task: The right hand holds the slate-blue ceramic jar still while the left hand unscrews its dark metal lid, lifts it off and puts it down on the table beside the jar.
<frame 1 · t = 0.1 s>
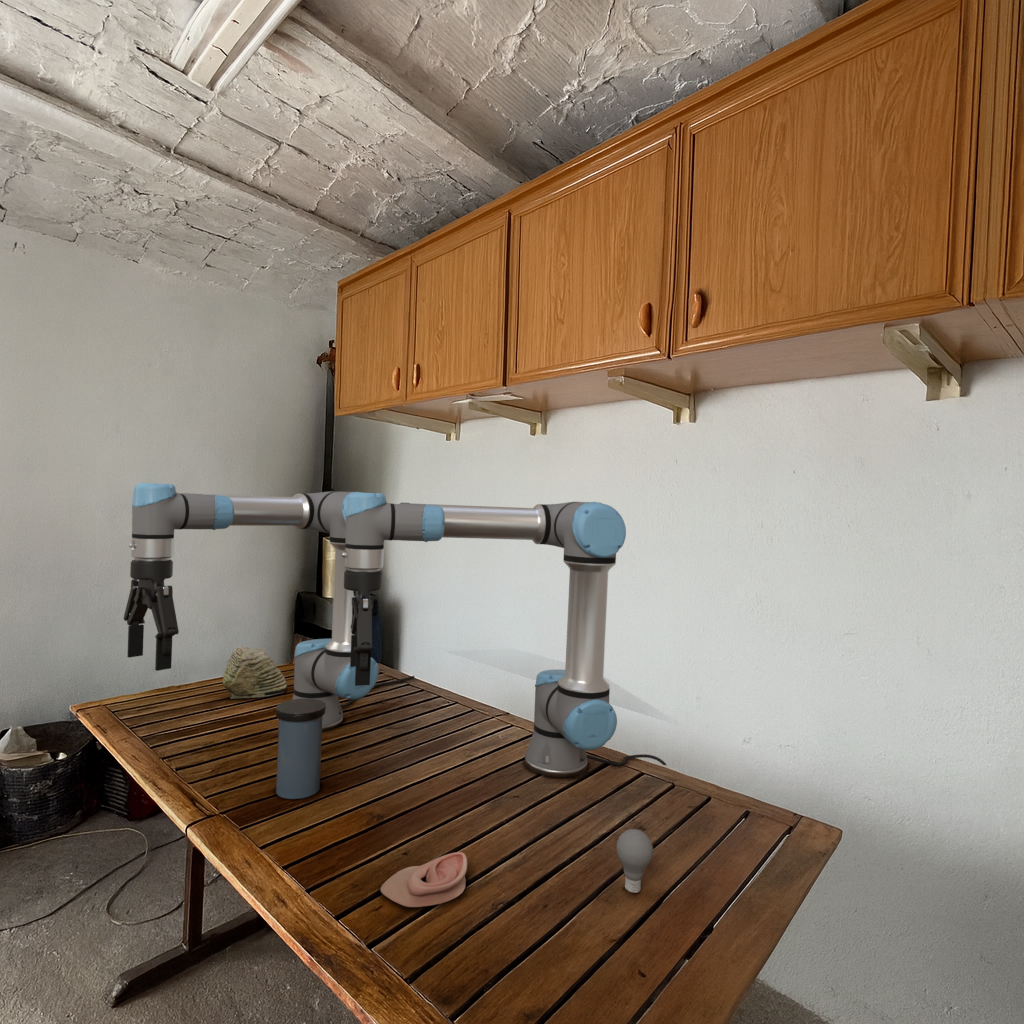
left hand: (148, 662, 129), 28 cm above the table, tool pointing down, fingers open, 13 cm apart
right hand: (359, 675, 127), 28 cm above the table, tool pointing down, fingers open, 13 cm apart
fossil: (254, 694, 198), on the table
jar: (298, 789, 137), on the table
anatomical model: (424, 887, 104), on the table
lid: (301, 707, 136), point 18 cm above the table, screwed on, not yet turned
light bulb: (632, 891, 106), on the table
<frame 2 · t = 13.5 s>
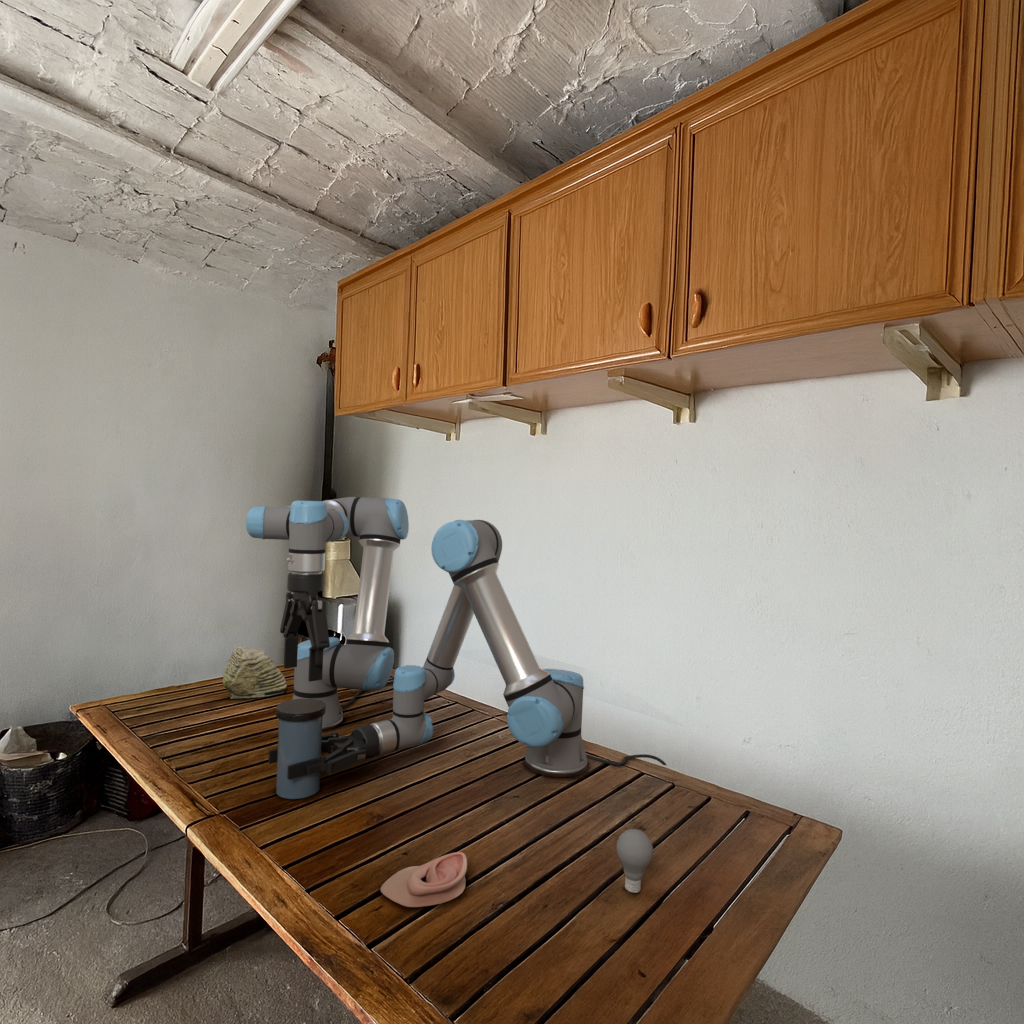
left hand: (302, 673, 136), 25 cm above the table, tool pointing down, fingers open, 11 cm apart
right hand: (278, 764, 134), 6 cm above the table, tool horizontal, fingers closed on jar, 9 cm apart
jar: (298, 789, 137), on the table, touching right hand
everything else where it was.
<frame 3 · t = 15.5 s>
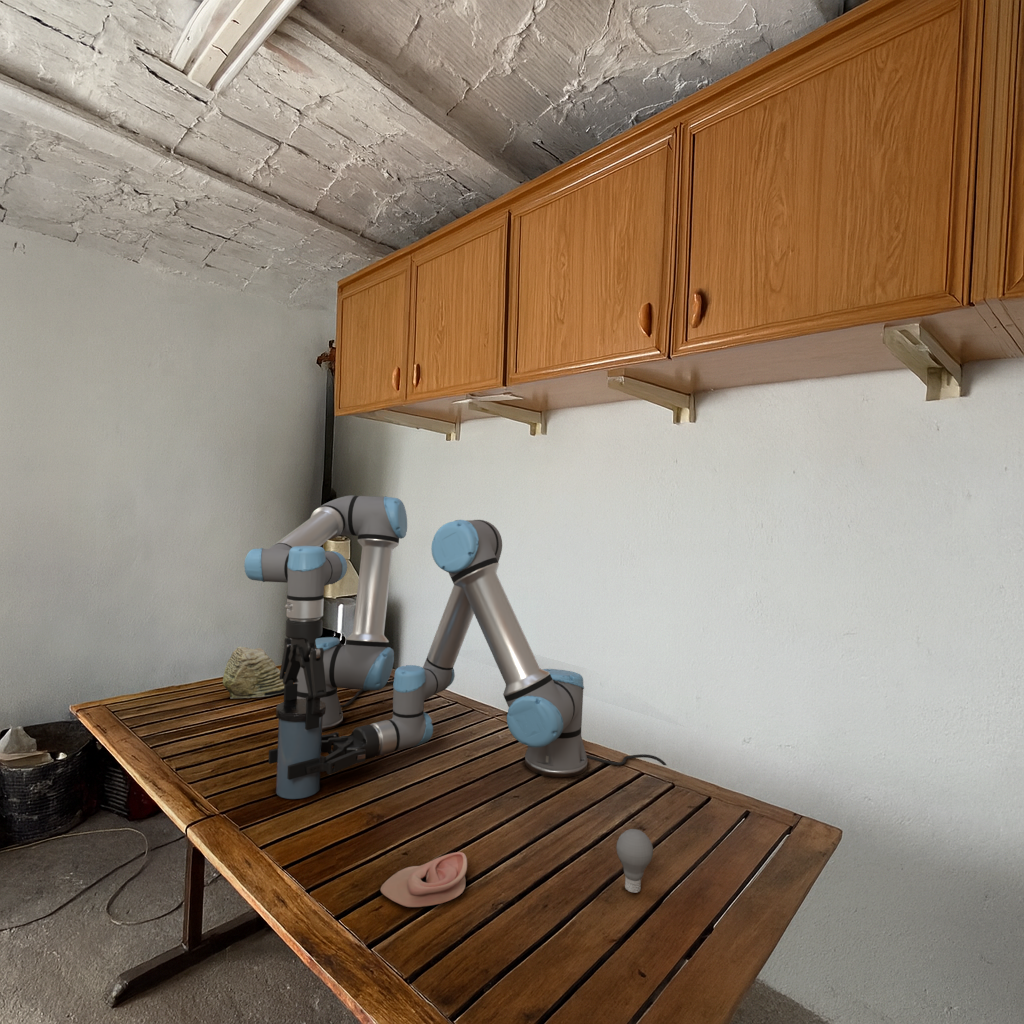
left hand: (300, 720, 136), 15 cm above the table, tool pointing down, fingers closed on lid, 10 cm apart
right hand: (278, 764, 134), 6 cm above the table, tool horizontal, fingers closed on jar, 9 cm apart
jar: (298, 789, 137), on the table, touching right hand
lid: (301, 707, 136), point 18 cm above the table, screwed on, not yet turned, touching left hand
everything else where it was.
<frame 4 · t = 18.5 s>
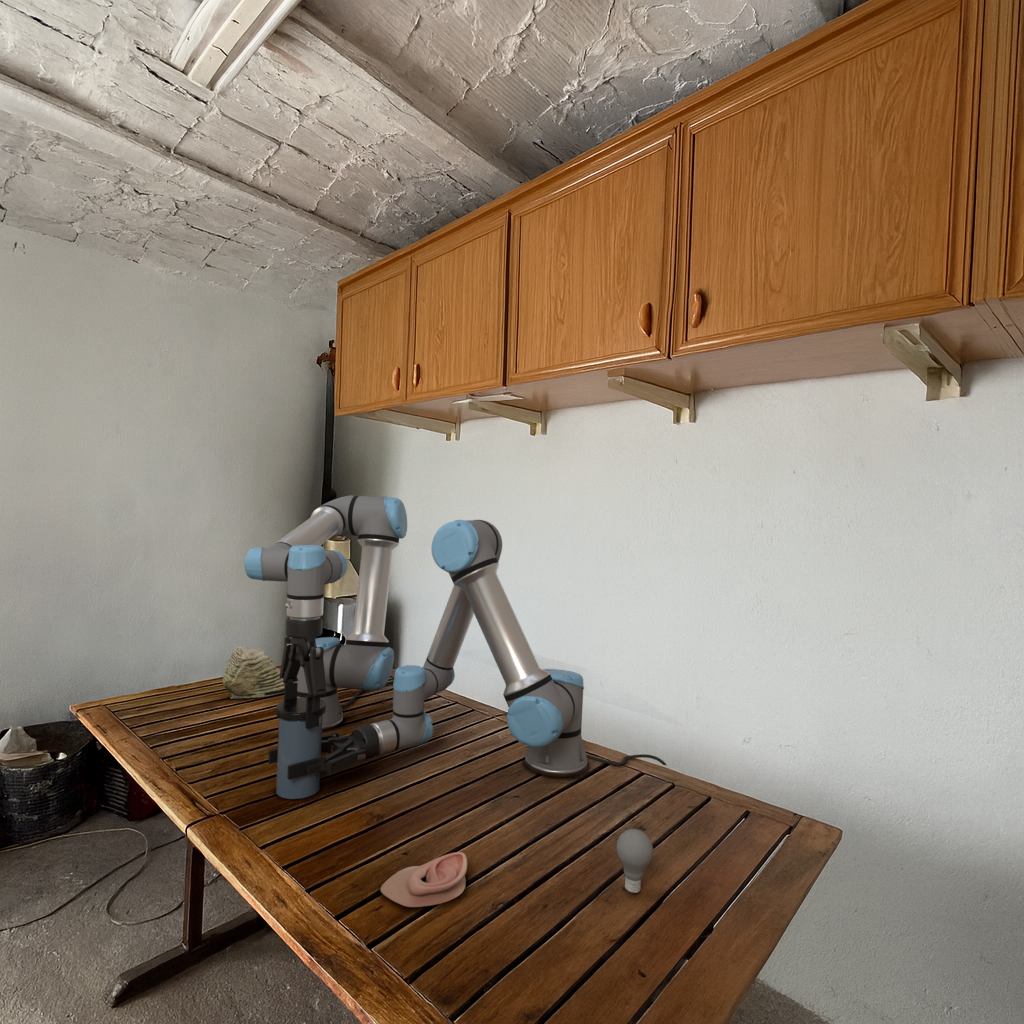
left hand: (300, 719, 136), 15 cm above the table, tool pointing down, fingers closed on lid, 10 cm apart
right hand: (278, 764, 134), 6 cm above the table, tool horizontal, fingers closed on jar, 9 cm apart
jar: (298, 789, 137), on the table, touching right hand
lid: (301, 706, 136), point 18 cm above the table, turned 73° so far, risen 0.2 cm, still on its thread, touching left hand
everything else where it was.
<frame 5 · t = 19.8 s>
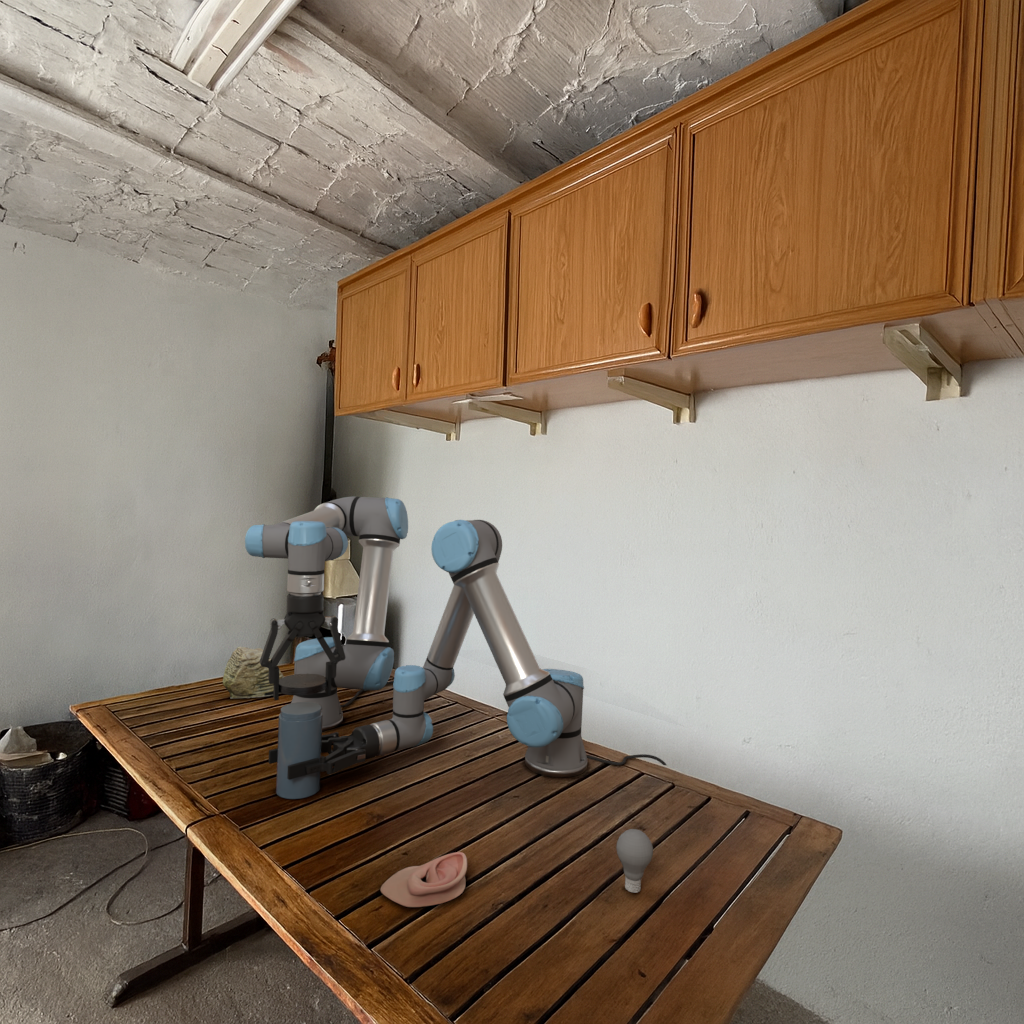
left hand: (302, 695, 137), 20 cm above the table, tool pointing down, fingers closed on lid, 10 cm apart
right hand: (278, 764, 134), 6 cm above the table, tool horizontal, fingers closed on jar, 9 cm apart
jar: (298, 789, 137), on the table, touching right hand
lid: (302, 682, 137), point 23 cm above the table, off its thread, touching left hand
everything else where it was.
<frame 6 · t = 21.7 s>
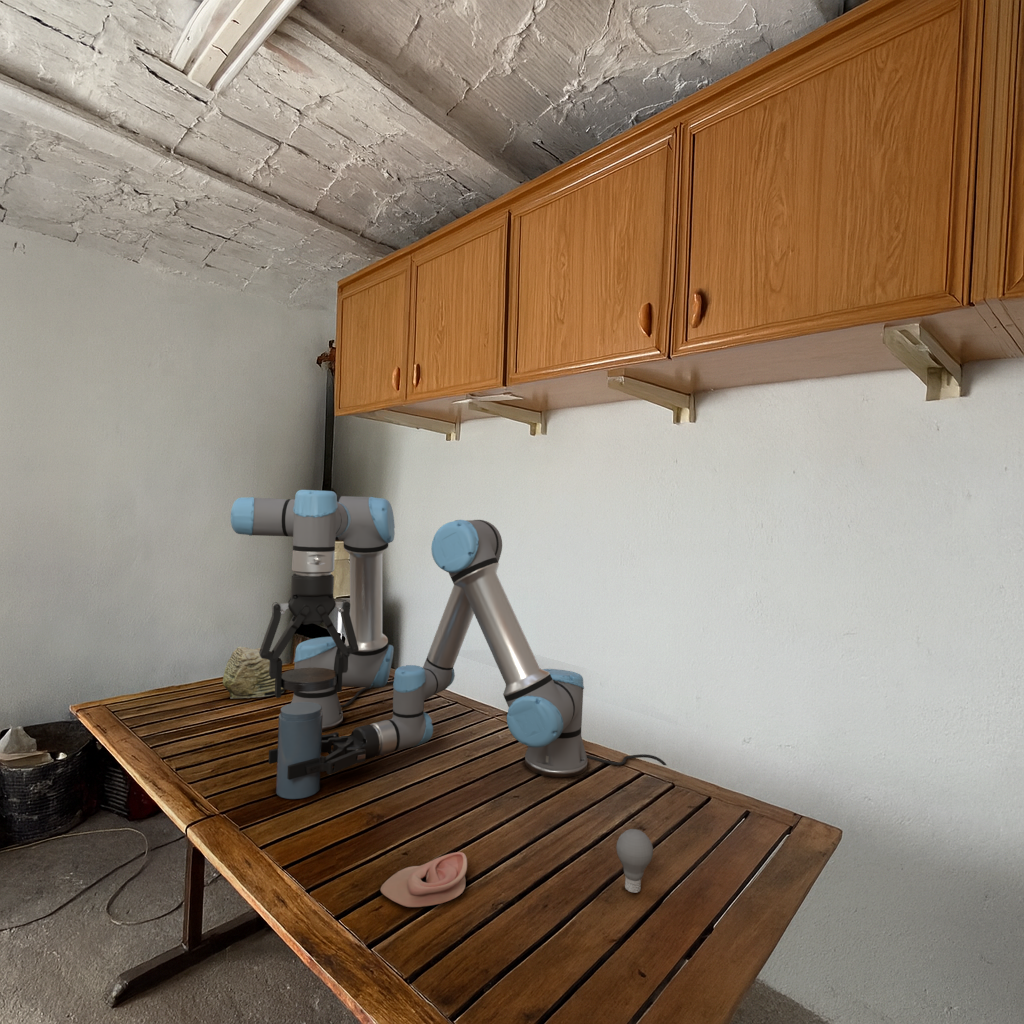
left hand: (308, 692, 118), 27 cm above the table, tool pointing down, fingers closed on lid, 10 cm apart
right hand: (278, 764, 134), 6 cm above the table, tool horizontal, fingers closed on jar, 9 cm apart
jar: (298, 789, 137), on the table, touching right hand
lid: (309, 676, 118), point 30 cm above the table, off its thread, touching left hand
everything else where it was.
when the left hand's fingers open (0 cm above the table, at t = 24.9 s): lid drops 2 cm, point 1 cm above the table.
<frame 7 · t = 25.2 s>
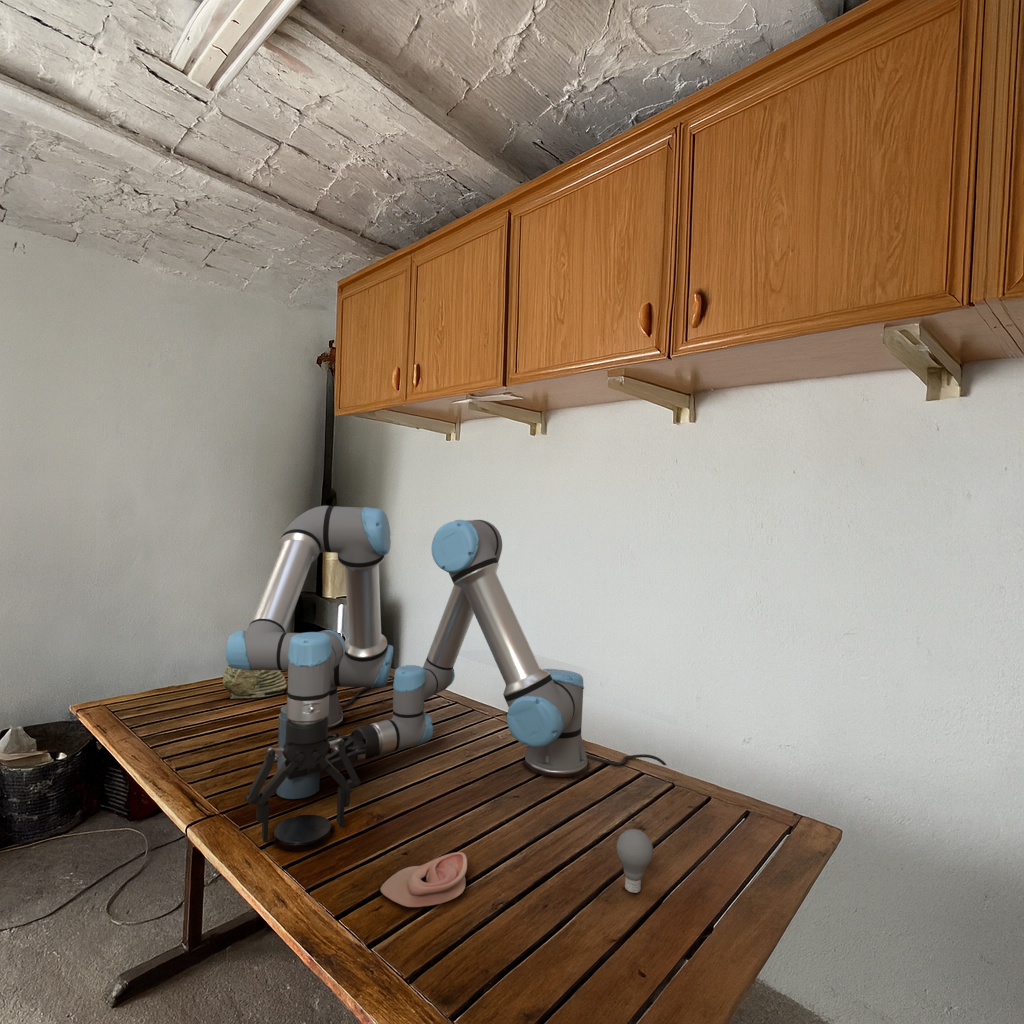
left hand: (303, 831, 118), 1 cm above the table, tool pointing down, fingers open, 13 cm apart
right hand: (278, 764, 134), 7 cm above the table, tool horizontal, fingers closed on jar, 9 cm apart
jar: (298, 789, 137), on the table, touching right hand
lid: (302, 829, 118), point 1 cm above the table, off its thread
everything else where it was.
when the right hand's fingers open (7 cm above the table, at t = 25.9 s): jar stays where it is, on the table.
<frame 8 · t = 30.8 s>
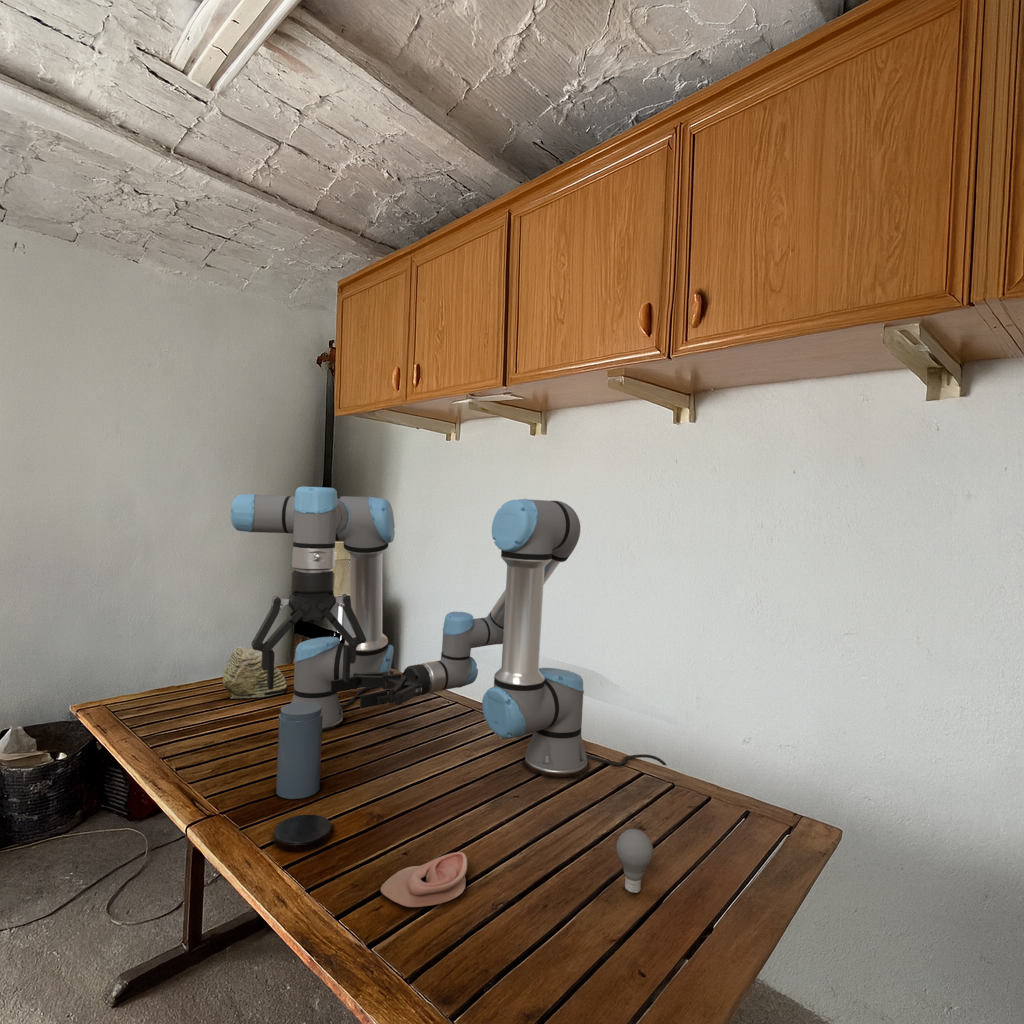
left hand: (309, 684, 118), 29 cm above the table, tool pointing down, fingers open, 13 cm apart
right hand: (345, 694, 143), 19 cm above the table, tool horizontal, fingers open, 13 cm apart
jar: (298, 789, 137), on the table
everything else where it was.
at the end: lid came off its thread; lid point 1.3 cm above the table; the left hand is holding nothing; the right hand is holding nothing; jar tilted 0°; jar moved 0.0 cm from its start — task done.
